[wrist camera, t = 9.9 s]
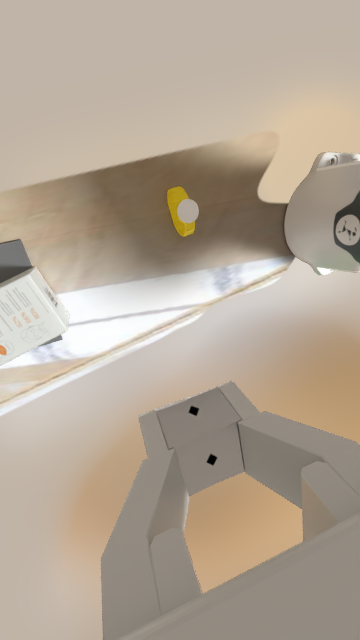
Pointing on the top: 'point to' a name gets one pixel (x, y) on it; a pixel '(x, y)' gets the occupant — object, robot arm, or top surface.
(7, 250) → the mat
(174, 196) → the watch
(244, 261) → the top surface
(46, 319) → the small box
